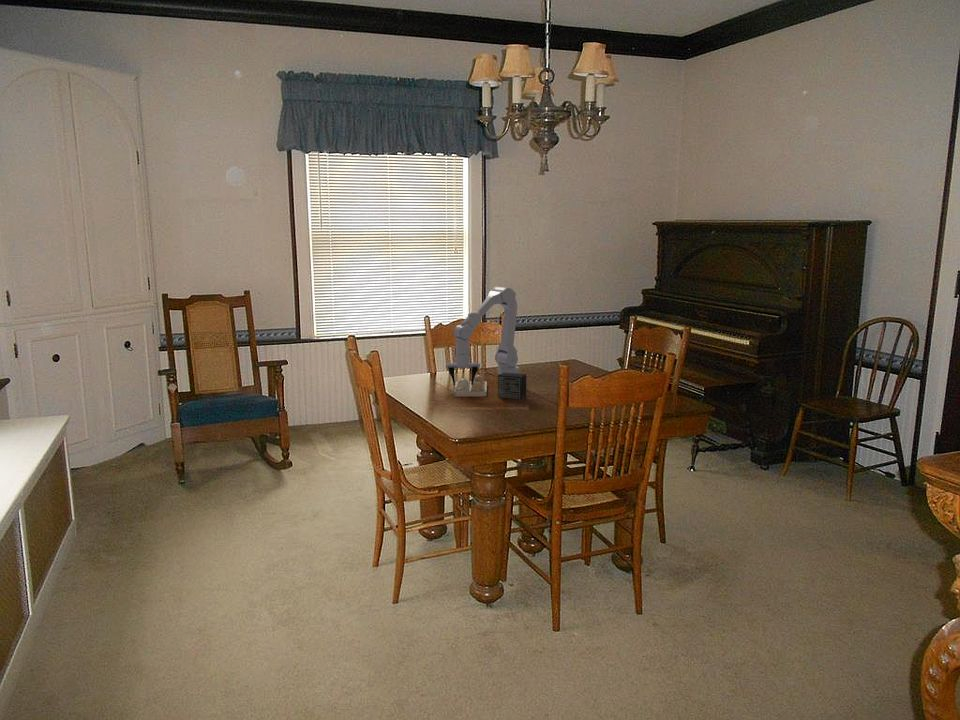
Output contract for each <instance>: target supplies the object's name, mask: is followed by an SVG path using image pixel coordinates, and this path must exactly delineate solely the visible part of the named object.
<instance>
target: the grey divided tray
mask: <svg viewBox="0 0 960 720" xmlns="http://www.w3.org/2000/svg"><path fill="white" fill-rule="evenodd" d="M467 381H468V388H459V384H458V383H459V380H458V381H456V380H455V385H454V388H453V397H487V389H488V387H487V386H488V383H487V382H488V381H486V380H485V381H484V380H483V392H473V385H471V380H470V381H469V380H467ZM473 384H474V382H473Z"/></svg>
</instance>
